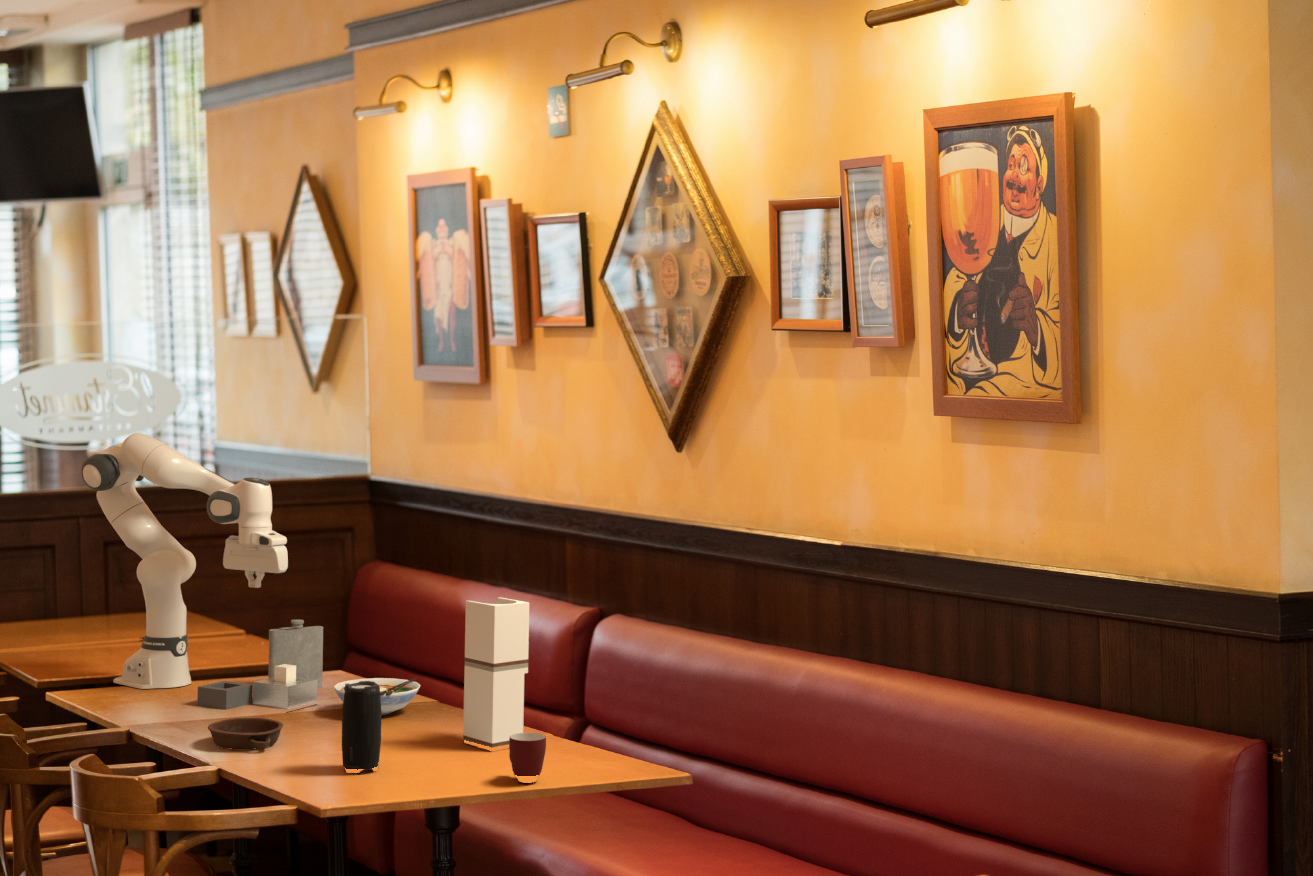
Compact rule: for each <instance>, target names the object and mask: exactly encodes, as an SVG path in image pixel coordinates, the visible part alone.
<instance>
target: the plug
mask: <svg viewBox="0 0 1313 876" xmlns="http://www.w3.org/2000/svg"><path fill="white" fill-rule="evenodd" d="M295 681H296V665H288V664H283V665H278V666H275V678H274V682H279V683H286V684H287V683H291V682H295Z"/></svg>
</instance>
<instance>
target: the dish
mask: <svg viewBox="0 0 1313 876" xmlns="http://www.w3.org/2000/svg"><path fill="white" fill-rule="evenodd" d="M283 727H284V723H283V722H281V721H279V720H276V719H272V718H266V717H265V718H264V717H236V718H227V719H226V718H225V719H223V720H218V721H215V722H212V723H210V724H209V725H208V726H207V729H208V731H209V732H210V735H211V738H212V740H213V743H214V744H215V746H217V747H218V746H219V748H221V747H222V748H221V749H225V748H232V749H231V750H234V749H250V750H265V749H268V748H269V747H270V746H273V745H274V744H276V743H277V741H278V739H279V737H280V734H281V730H282V729H283ZM254 748H256V749H254Z"/></svg>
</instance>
